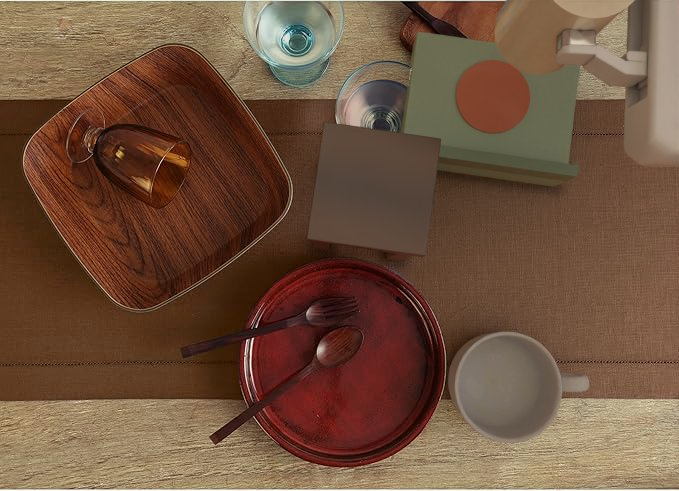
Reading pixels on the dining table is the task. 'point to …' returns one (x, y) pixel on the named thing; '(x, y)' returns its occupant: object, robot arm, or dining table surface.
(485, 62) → the green block orange circle
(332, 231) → the stand
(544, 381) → the teacup
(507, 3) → the bottle
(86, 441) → the dining table surface
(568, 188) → the dining table surface
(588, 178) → the dining table surface
